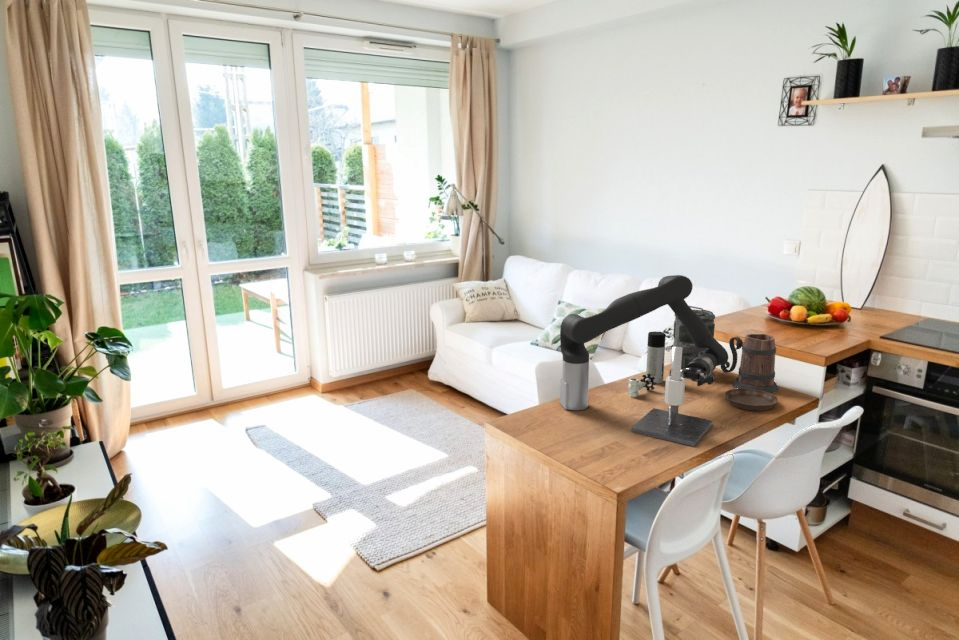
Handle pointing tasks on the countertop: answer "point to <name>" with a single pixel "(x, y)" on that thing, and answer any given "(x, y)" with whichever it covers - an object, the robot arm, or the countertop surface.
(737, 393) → the plant saucer
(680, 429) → the pipe stand
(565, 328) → the robot arm
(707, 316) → the canister
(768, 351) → the tankard
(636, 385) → the valve
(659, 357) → the spray can
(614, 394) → the countertop surface
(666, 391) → the sleeve
